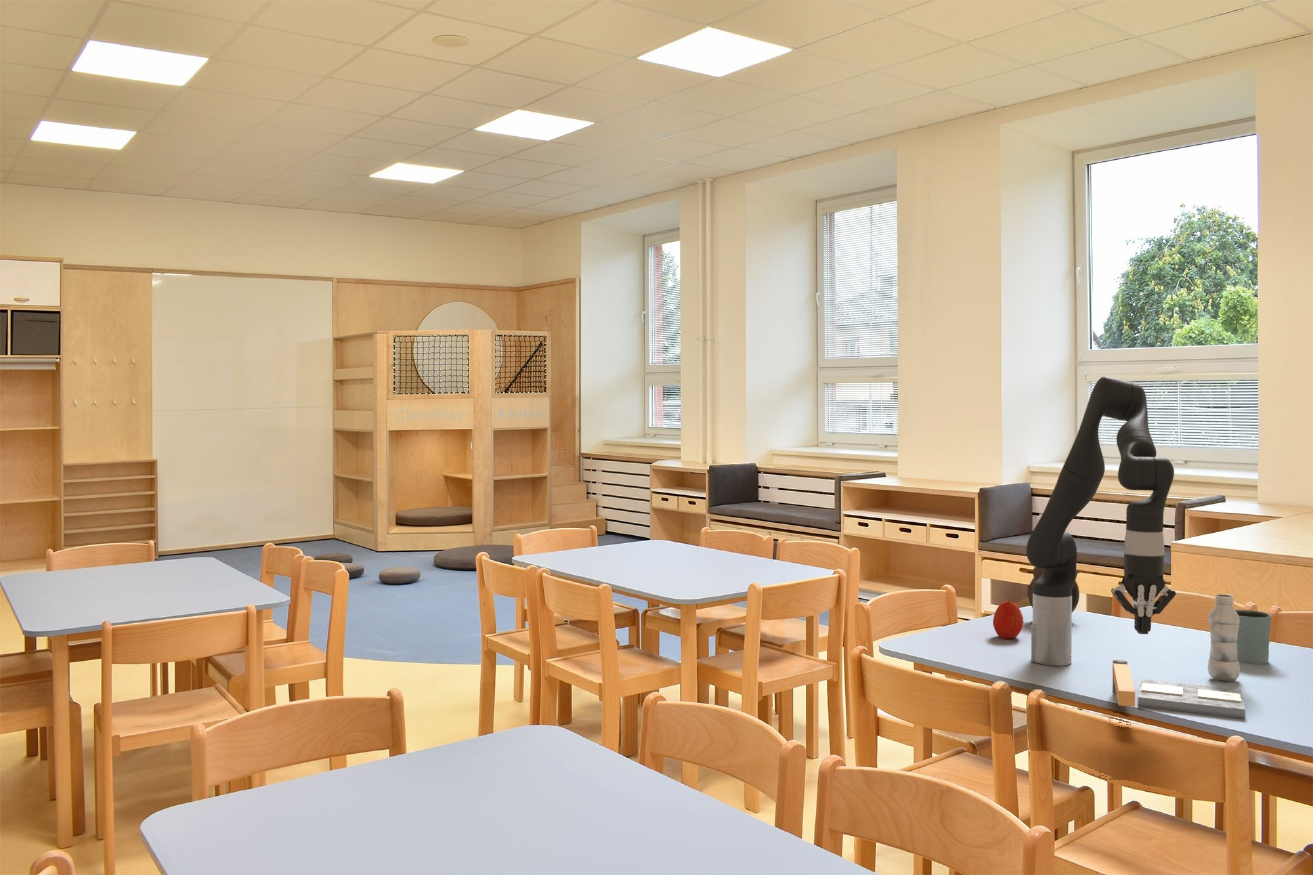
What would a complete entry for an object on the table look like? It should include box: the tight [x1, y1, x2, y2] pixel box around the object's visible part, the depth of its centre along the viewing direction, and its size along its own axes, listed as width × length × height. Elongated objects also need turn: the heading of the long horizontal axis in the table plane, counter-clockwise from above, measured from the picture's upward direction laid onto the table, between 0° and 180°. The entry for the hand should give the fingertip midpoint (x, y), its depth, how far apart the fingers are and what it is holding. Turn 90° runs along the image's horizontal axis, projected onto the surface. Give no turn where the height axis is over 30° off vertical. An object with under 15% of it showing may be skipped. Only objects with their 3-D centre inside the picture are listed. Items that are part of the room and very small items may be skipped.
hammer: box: [1112, 659, 1136, 708], centre depth 216 cm, size 27×3×7 cm, turn 158°
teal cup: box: [1235, 609, 1272, 665], centre depth 258 cm, size 10×10×12 cm
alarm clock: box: [1027, 566, 1080, 613], centre depth 305 cm, size 14×7×20 cm, turn 105°
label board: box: [1137, 678, 1246, 720], centre depth 221 cm, size 20×16×2 cm
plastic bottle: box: [1207, 593, 1241, 682], centre depth 239 cm, size 6×7×20 cm
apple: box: [992, 599, 1024, 640], centre depth 284 cm, size 8×8×11 cm
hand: (1142, 633), depth 214 cm, fingers closed
